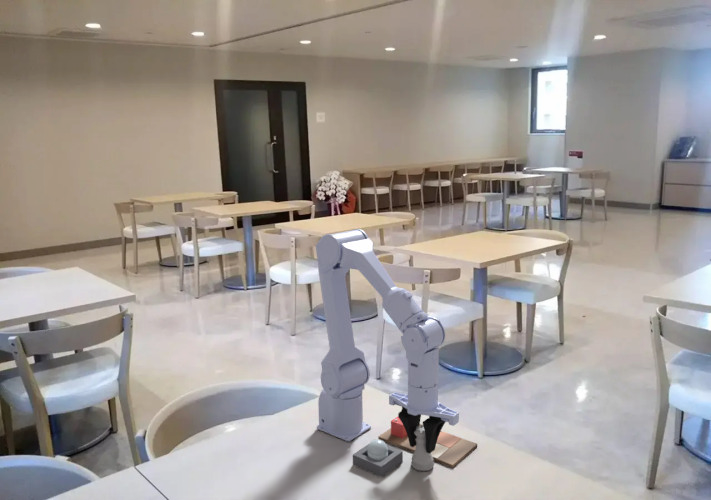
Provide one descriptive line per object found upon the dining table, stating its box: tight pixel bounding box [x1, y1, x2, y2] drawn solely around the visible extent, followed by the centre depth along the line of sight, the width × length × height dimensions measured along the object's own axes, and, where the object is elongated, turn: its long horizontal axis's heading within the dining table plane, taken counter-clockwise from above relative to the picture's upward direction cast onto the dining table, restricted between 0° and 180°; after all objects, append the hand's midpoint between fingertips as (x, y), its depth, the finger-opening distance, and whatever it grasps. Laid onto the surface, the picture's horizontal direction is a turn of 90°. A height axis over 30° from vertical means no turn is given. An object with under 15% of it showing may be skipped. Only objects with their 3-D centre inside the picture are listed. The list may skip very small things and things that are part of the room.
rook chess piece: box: [410, 424, 435, 472], centre depth 114 cm, size 4×4×8 cm
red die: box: [390, 416, 407, 438], centre depth 126 cm, size 3×3×3 cm
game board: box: [377, 423, 478, 469], centre depth 123 cm, size 18×10×1 cm, turn 51°
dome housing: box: [352, 442, 404, 478], centre depth 116 cm, size 7×7×2 cm
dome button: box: [368, 438, 388, 462], centre depth 115 cm, size 4×4×4 cm
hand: (422, 447), depth 114 cm, fingers closed on rook chess piece, 3 cm apart
